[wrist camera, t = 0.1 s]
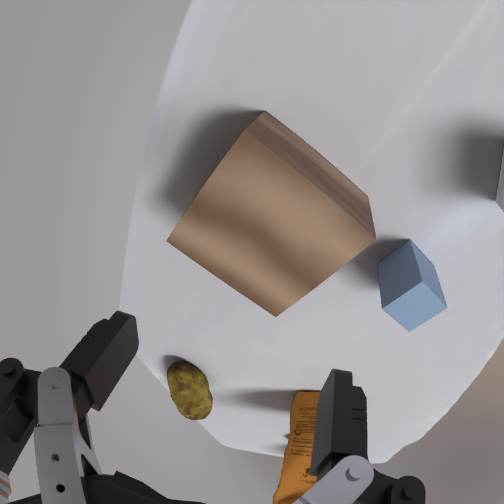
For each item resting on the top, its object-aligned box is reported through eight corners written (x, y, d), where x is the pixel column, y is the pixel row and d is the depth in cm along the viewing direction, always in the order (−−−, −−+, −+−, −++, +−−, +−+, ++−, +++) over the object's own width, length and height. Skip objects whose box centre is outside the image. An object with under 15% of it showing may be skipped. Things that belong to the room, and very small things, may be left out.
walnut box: (265, 110, 27) (244, 130, 21) (367, 195, 30) (376, 239, 24) (197, 201, 35) (166, 240, 29) (287, 267, 38) (275, 317, 31)
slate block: (409, 238, 31) (422, 281, 26) (433, 264, 32) (447, 307, 27) (376, 264, 34) (381, 308, 29) (401, 288, 35) (409, 331, 30)
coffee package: (348, 416, 56) (336, 515, 39) (289, 408, 58) (267, 508, 41) (363, 394, 50) (352, 509, 33) (295, 385, 52) (271, 501, 35)
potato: (213, 363, 54) (199, 400, 47) (219, 396, 61) (208, 428, 55) (170, 353, 55) (154, 388, 49) (183, 387, 63) (170, 417, 56)
